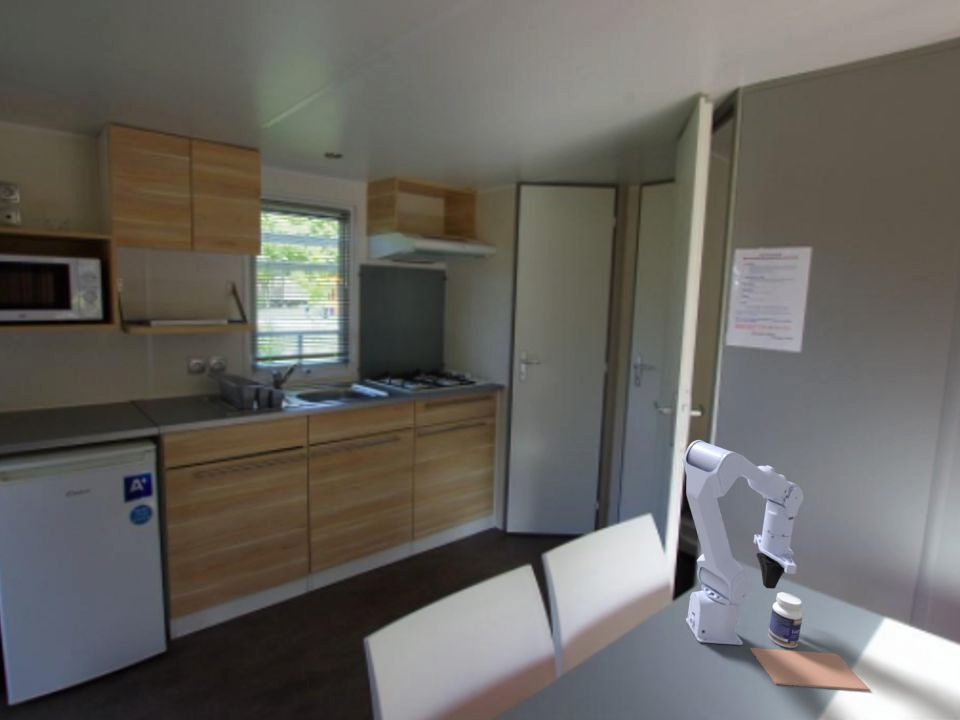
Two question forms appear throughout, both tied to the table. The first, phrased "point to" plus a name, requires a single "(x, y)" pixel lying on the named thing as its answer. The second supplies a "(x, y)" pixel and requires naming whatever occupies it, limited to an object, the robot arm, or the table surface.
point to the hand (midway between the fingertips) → (769, 586)
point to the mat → (808, 669)
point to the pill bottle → (786, 620)
